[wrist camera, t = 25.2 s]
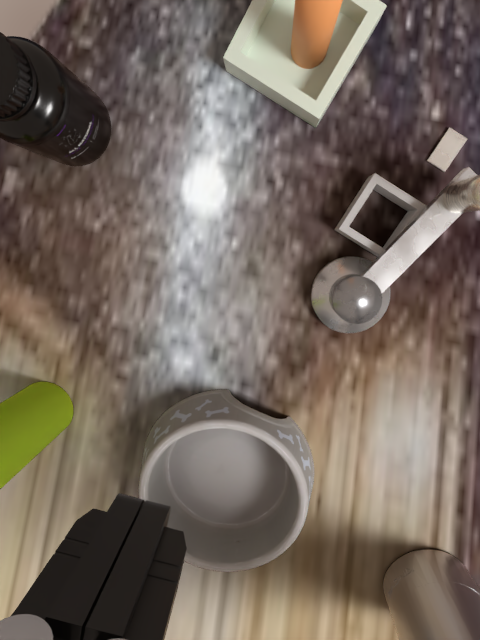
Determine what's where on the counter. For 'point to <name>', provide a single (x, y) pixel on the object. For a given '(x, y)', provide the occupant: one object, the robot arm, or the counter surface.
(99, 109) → the supplement bottle
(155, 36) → the counter surface
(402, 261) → the crank
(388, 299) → the crank flange
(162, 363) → the counter surface
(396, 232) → the collar
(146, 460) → the dog bowl
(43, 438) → the soap dispenser
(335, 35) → the tray
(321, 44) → the pin
